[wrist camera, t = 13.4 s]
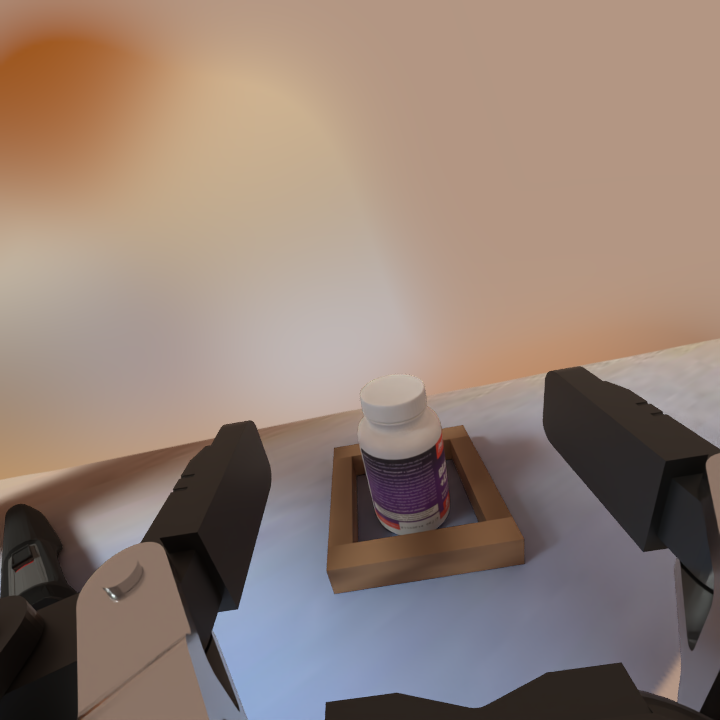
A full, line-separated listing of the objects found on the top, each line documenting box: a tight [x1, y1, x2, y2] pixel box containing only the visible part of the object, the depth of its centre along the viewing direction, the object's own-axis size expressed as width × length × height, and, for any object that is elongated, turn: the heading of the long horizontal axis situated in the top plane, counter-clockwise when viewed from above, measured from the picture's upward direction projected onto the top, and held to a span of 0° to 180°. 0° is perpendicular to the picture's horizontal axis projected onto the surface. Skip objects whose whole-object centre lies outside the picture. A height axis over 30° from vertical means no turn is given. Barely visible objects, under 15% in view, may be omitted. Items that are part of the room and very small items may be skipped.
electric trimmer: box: [0, 504, 77, 611], centre depth 25 cm, size 4×16×3 cm, turn 48°
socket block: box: [327, 425, 524, 594], centre depth 25 cm, size 11×11×2 cm
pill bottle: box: [357, 374, 450, 535], centre depth 23 cm, size 5×5×10 cm
